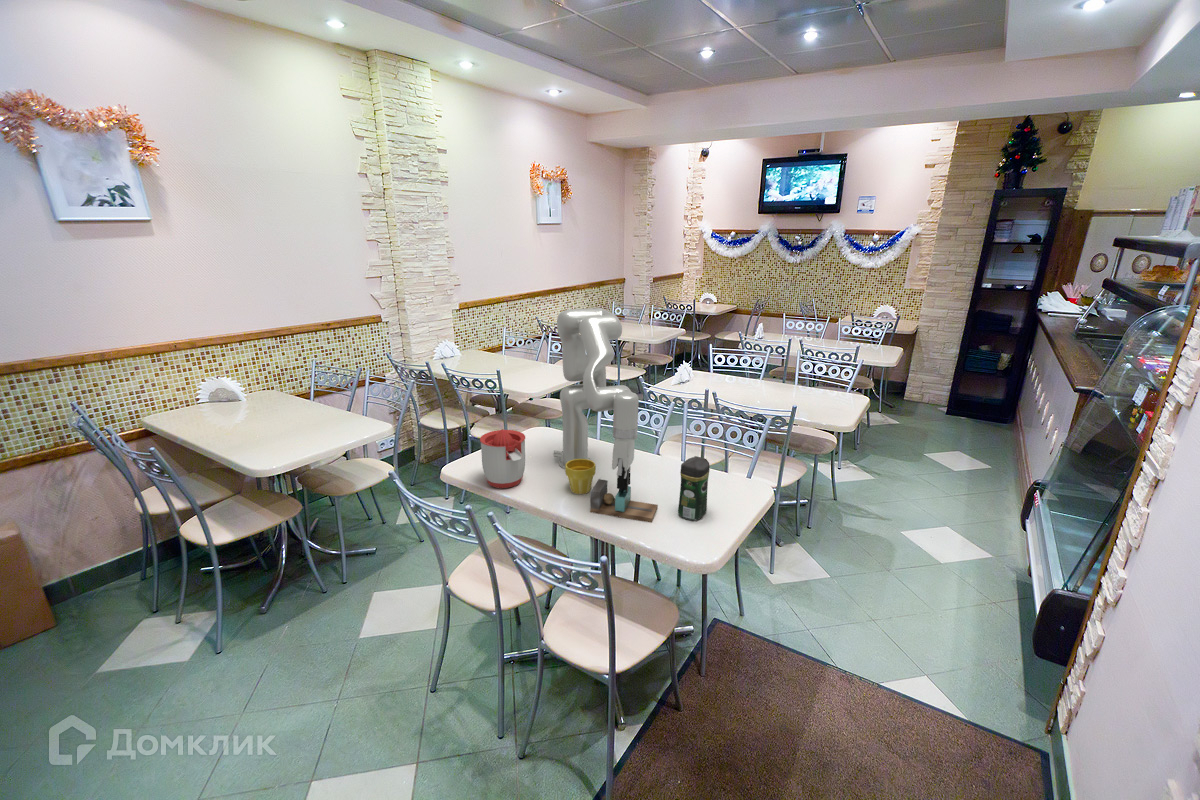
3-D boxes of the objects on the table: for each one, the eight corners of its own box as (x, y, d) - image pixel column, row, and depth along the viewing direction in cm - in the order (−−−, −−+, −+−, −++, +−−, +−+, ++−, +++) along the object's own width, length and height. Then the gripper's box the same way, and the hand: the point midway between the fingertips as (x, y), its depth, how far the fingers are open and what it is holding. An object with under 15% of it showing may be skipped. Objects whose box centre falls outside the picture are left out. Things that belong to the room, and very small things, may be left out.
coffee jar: (687, 504, 170) (690, 452, 164) (709, 511, 166) (714, 458, 160) (673, 516, 162) (677, 462, 157) (696, 524, 158) (701, 468, 153)
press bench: (590, 512, 164) (590, 491, 162) (598, 499, 172) (598, 479, 170) (651, 522, 158) (652, 500, 156) (657, 508, 167) (658, 487, 164)
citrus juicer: (498, 498, 172) (495, 442, 166) (474, 480, 185) (471, 427, 179) (537, 485, 182) (536, 432, 176) (512, 468, 194) (510, 418, 188)
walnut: (601, 505, 165) (601, 495, 164) (604, 500, 168) (605, 490, 167) (612, 507, 164) (612, 497, 163) (615, 502, 167) (615, 492, 166)
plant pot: (565, 483, 183) (564, 458, 180) (594, 483, 184) (594, 457, 181) (565, 497, 173) (565, 471, 170) (596, 496, 174) (596, 470, 171)
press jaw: (614, 510, 162) (615, 463, 157) (620, 498, 169) (622, 453, 164) (625, 512, 161) (626, 464, 156) (631, 500, 168) (633, 454, 163)
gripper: (620, 422, 166) (618, 474, 171) (605, 439, 151) (604, 496, 156) (642, 424, 164) (640, 477, 169) (630, 442, 149) (628, 500, 154)
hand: (623, 485), depth 163 cm, fingers closed on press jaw, 3 cm apart
